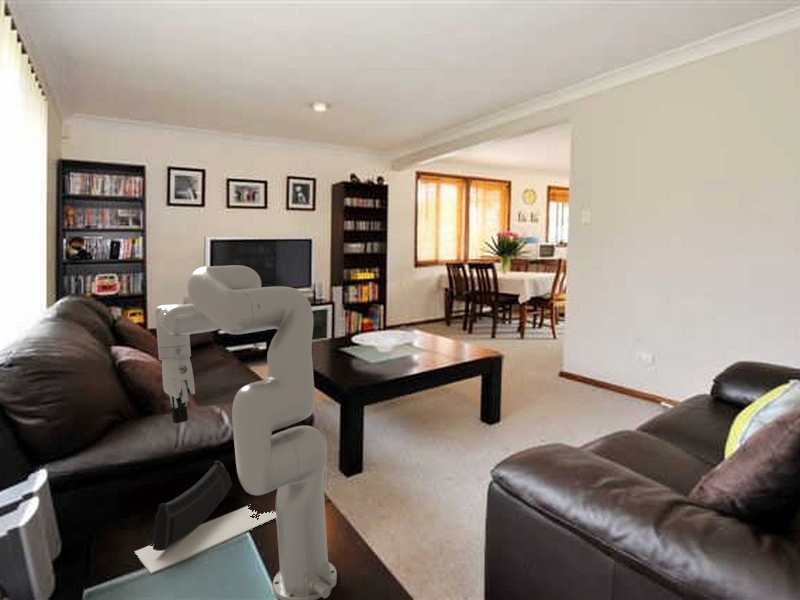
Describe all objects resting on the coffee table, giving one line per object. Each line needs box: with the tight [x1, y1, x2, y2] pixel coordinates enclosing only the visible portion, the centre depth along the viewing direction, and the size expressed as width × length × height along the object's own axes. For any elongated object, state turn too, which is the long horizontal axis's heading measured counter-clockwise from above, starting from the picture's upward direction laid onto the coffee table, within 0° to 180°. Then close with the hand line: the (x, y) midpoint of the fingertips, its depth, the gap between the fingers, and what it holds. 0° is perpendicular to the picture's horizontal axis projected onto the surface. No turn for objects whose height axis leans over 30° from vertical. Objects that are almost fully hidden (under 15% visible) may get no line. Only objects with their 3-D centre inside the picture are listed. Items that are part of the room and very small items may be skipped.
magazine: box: [152, 460, 233, 551], centre depth 122 cm, size 17×3×30 cm
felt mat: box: [134, 505, 276, 575], centre depth 118 cm, size 12×31×1 cm, turn 134°
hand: (180, 421), depth 127 cm, fingers closed
